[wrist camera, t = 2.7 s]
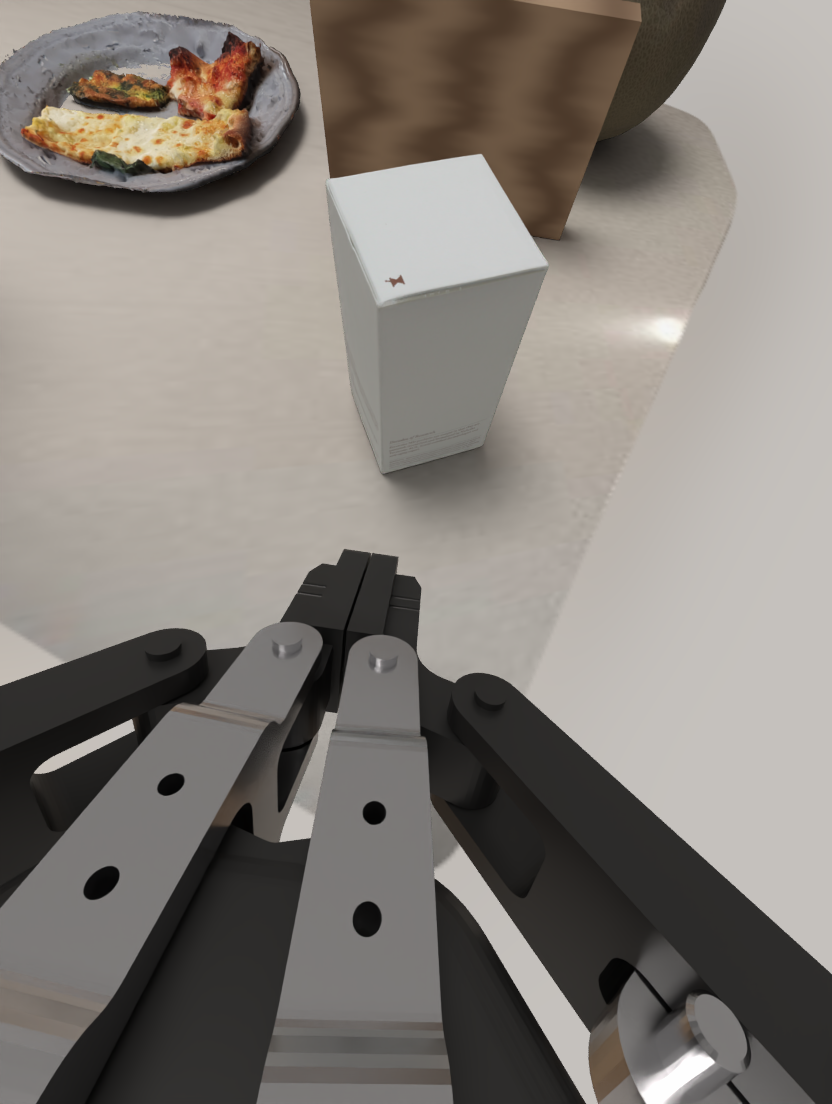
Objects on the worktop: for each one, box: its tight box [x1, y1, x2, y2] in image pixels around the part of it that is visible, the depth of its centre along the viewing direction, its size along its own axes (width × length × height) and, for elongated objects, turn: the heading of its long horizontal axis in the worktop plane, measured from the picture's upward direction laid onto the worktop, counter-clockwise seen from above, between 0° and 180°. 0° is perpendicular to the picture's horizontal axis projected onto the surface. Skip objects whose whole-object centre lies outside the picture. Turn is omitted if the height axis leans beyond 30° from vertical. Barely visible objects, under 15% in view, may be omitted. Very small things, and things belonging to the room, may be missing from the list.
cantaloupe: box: [597, 0, 726, 141], centre depth 32 cm, size 14×14×15 cm
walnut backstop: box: [310, 0, 642, 240], centre depth 29 cm, size 19×2×12 cm, turn 82°
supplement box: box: [326, 154, 549, 474], centre depth 23 cm, size 7×7×13 cm
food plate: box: [0, 11, 301, 193], centre depth 35 cm, size 25×23×4 cm
